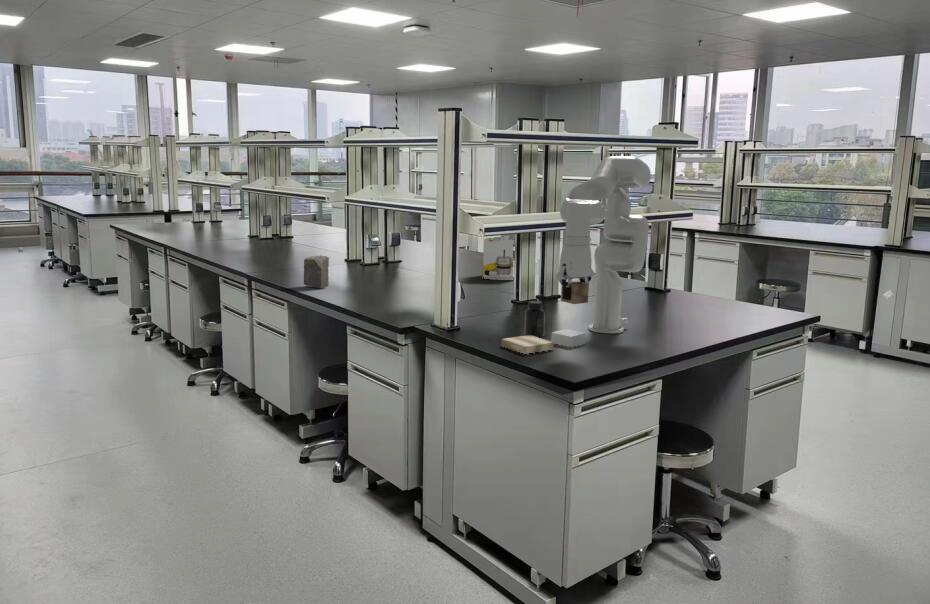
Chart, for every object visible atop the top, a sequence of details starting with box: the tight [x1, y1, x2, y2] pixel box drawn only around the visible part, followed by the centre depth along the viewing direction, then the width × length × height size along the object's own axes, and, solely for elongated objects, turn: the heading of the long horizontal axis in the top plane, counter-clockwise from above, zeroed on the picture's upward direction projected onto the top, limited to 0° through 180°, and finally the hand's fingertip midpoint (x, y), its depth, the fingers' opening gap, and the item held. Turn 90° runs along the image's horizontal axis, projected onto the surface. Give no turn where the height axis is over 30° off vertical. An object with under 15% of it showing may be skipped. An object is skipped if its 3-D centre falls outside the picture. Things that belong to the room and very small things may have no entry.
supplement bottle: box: [524, 300, 546, 338], centre depth 244 cm, size 7×7×12 cm
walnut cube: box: [560, 280, 590, 305], centre depth 222 cm, size 6×6×6 cm
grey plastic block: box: [550, 328, 586, 348], centre depth 235 cm, size 8×8×4 cm
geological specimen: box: [303, 255, 330, 289], centre depth 330 cm, size 11×6×15 cm, turn 61°
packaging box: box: [482, 236, 514, 278], centre depth 371 cm, size 16×16×25 cm
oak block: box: [500, 334, 555, 355], centre depth 228 cm, size 12×12×3 cm
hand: (574, 297), depth 222 cm, fingers closed on walnut cube, 6 cm apart
